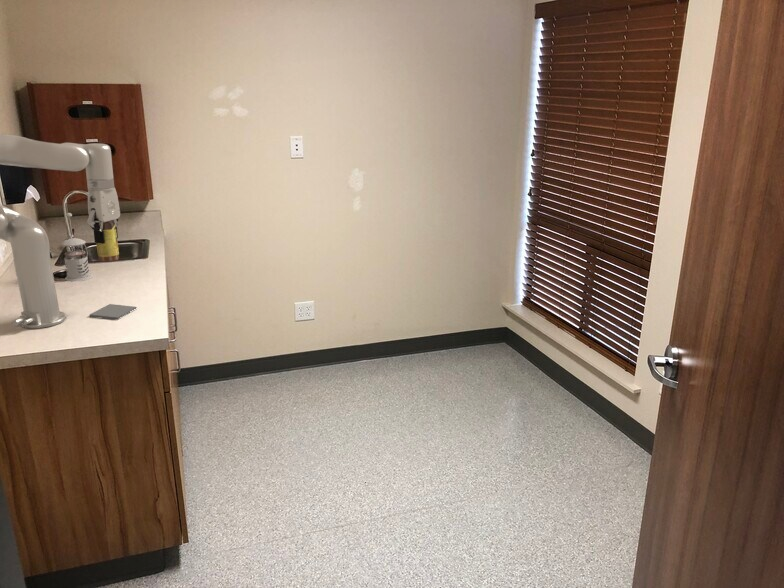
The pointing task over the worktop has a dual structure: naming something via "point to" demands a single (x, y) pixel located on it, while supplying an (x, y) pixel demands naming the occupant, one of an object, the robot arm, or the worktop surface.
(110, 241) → the sauce bottle
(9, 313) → the worktop surface
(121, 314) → the coaster
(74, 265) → the french press
